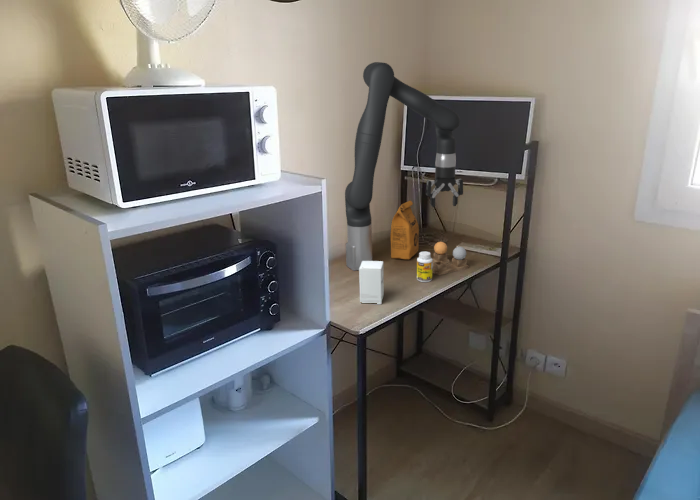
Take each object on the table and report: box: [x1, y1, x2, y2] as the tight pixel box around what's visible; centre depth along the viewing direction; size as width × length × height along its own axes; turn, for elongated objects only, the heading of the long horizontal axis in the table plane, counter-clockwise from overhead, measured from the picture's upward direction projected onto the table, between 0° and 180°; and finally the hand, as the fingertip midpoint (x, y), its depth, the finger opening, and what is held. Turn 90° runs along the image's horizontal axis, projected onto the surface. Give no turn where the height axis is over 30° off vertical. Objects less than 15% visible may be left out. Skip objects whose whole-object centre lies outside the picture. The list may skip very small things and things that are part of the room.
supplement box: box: [358, 260, 385, 305], centre depth 179 cm, size 7×7×13 cm
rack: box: [432, 257, 469, 276], centre depth 204 cm, size 14×5×4 cm, turn 117°
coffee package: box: [390, 200, 420, 260], centre depth 216 cm, size 10×12×22 cm
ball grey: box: [452, 246, 467, 260], centre depth 204 cm, size 5×5×5 cm
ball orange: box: [433, 241, 448, 255], centre depth 210 cm, size 5×5×5 cm
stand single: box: [431, 251, 450, 264], centre depth 212 cm, size 5×5×4 cm
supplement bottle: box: [416, 251, 433, 283], centre depth 194 cm, size 6×6×10 cm
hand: (443, 206), depth 211 cm, fingers open, 8 cm apart
